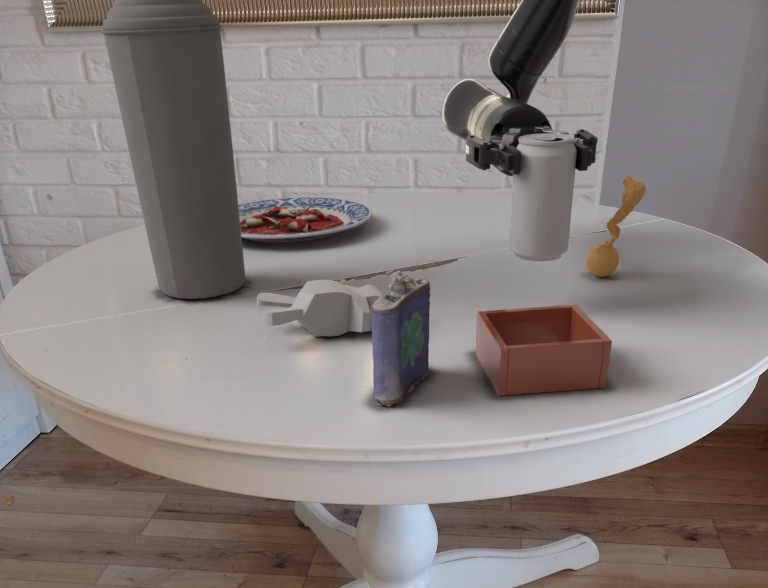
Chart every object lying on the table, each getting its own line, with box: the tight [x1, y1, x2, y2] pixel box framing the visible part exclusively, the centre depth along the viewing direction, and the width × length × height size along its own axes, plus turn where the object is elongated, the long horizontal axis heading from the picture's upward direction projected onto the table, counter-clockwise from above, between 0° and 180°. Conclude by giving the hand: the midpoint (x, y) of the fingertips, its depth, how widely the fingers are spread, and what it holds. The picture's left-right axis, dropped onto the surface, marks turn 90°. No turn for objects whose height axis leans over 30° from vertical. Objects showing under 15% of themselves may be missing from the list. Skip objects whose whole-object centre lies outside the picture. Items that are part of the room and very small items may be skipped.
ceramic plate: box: [238, 196, 373, 244], centre depth 125 cm, size 26×26×3 cm
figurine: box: [585, 175, 647, 278], centre depth 96 cm, size 8×6×12 cm
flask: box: [371, 269, 431, 408], centre depth 71 cm, size 9×3×11 cm, turn 154°
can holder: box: [475, 304, 613, 397], centre depth 75 cm, size 10×10×4 cm
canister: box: [101, 0, 246, 300], centre depth 92 cm, size 13×13×35 cm
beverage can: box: [509, 133, 577, 262], centre depth 85 cm, size 6×6×12 cm
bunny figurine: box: [256, 279, 385, 338], centre depth 86 cm, size 10×5×15 cm
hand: (551, 161), depth 80 cm, fingers closed on beverage can, 6 cm apart
